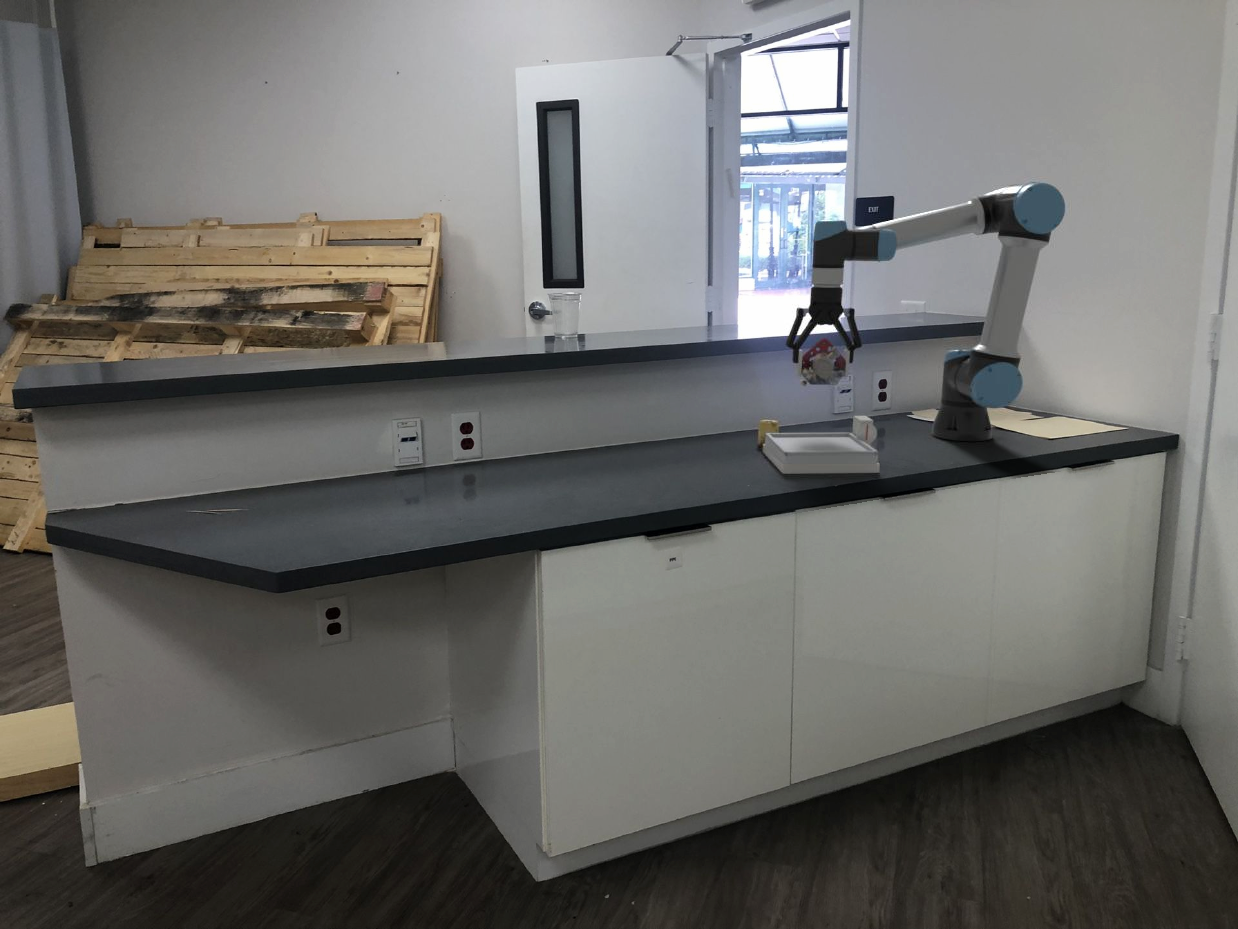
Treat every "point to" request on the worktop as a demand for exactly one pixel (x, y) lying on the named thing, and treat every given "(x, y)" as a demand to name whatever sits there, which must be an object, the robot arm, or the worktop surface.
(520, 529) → the worktop surface
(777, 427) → the brass spacer
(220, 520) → the worktop surface
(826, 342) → the brake caliper
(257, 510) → the worktop surface
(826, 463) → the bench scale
